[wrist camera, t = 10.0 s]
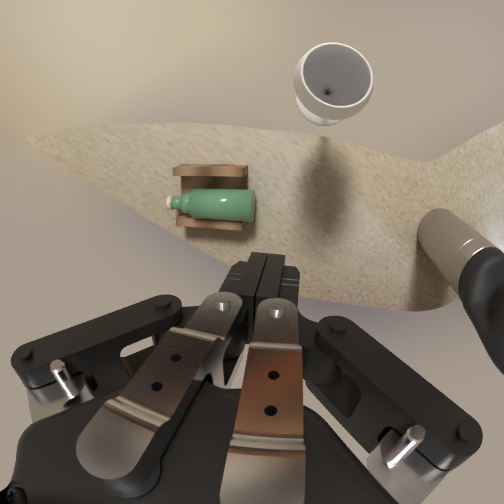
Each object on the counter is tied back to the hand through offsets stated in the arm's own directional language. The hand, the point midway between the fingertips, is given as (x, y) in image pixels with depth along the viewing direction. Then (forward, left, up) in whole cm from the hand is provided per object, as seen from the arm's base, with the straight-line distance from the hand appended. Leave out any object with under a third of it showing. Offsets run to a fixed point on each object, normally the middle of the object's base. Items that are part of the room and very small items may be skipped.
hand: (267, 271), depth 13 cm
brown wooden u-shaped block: (+14, +5, -35) cm, 38 cm away
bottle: (+6, +6, -32) cm, 33 cm away
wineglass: (-4, -12, -35) cm, 37 cm away
